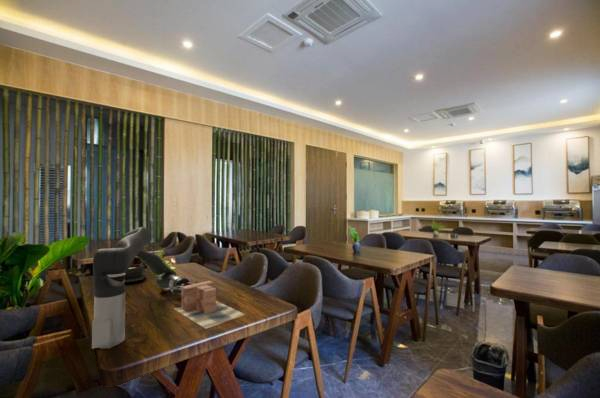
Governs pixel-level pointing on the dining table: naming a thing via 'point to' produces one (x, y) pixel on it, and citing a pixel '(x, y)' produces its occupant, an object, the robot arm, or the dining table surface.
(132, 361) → the dining table surface
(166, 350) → the dining table surface
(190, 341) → the dining table surface
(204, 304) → the T block
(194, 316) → the board
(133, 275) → the casserole
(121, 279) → the coffee mug
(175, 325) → the dining table surface
